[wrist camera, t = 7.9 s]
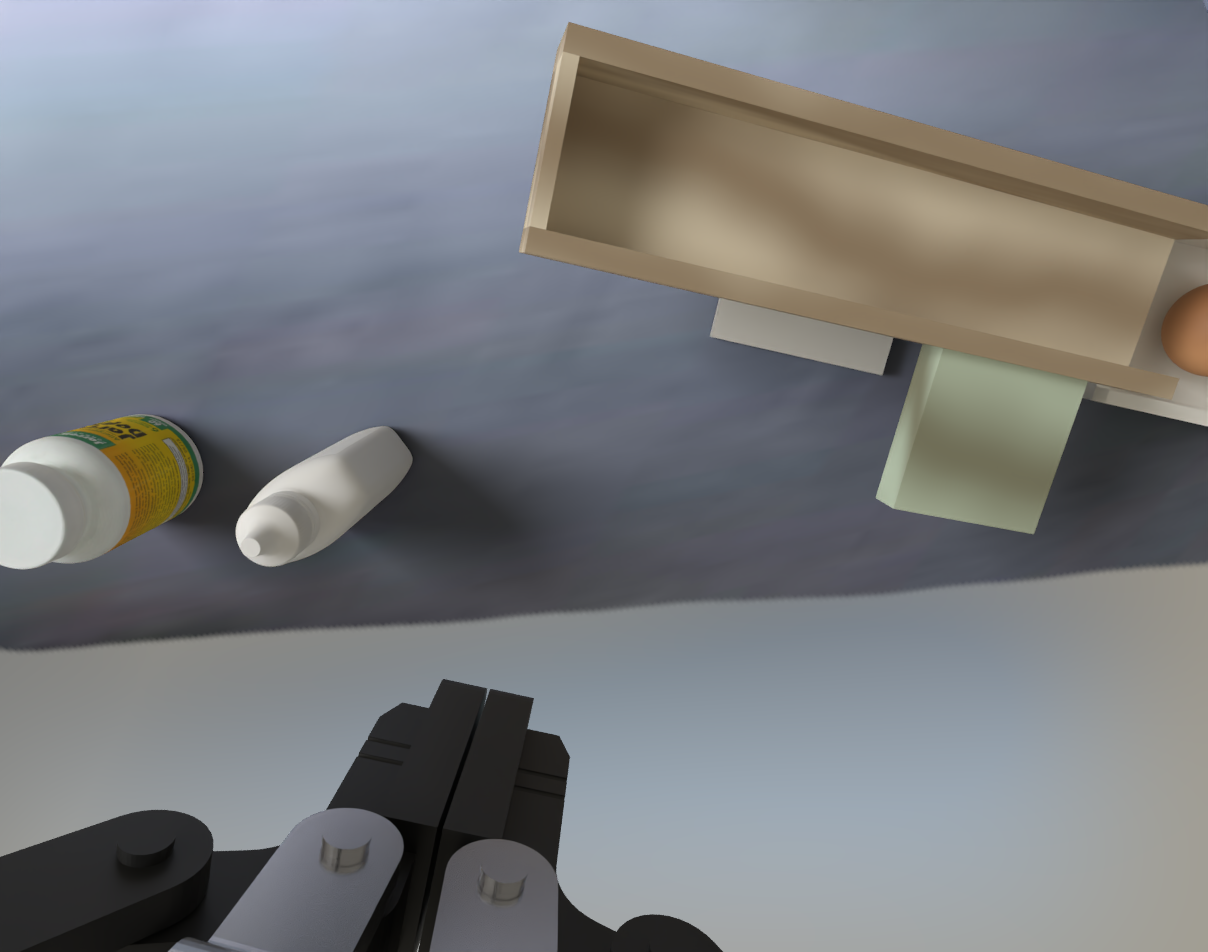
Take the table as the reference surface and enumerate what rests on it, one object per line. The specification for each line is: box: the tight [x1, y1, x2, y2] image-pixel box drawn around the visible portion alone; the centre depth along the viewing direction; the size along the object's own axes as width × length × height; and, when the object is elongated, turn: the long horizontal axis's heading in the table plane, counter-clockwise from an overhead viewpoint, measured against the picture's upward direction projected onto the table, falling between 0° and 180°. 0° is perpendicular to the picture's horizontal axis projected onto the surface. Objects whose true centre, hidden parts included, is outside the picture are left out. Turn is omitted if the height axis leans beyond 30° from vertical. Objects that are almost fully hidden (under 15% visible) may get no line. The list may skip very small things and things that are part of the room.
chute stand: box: [710, 298, 893, 375], centre depth 34 cm, size 10×8×6 cm
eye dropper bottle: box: [236, 426, 413, 567], centre depth 34 cm, size 4×6×12 cm
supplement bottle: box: [0, 414, 203, 569], centre depth 36 cm, size 5×5×10 cm
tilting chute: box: [519, 22, 1208, 534], centre depth 30 cm, size 13×24×6 cm, turn 78°
